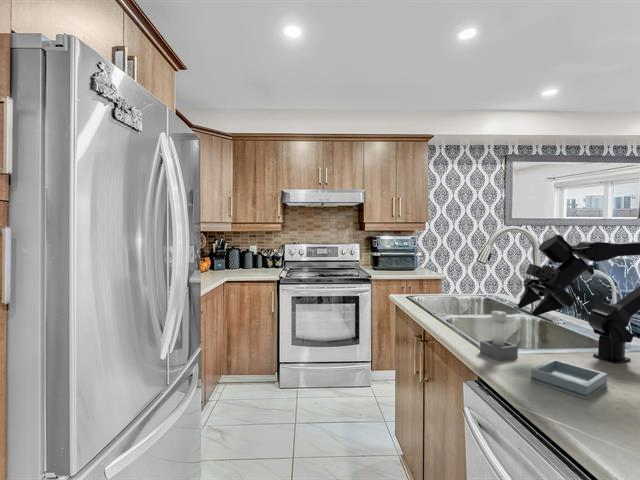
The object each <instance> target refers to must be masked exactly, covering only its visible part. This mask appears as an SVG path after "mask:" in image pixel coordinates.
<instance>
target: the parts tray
mask: <svg viewBox="0 0 640 480" xmlns="http://www.w3.org/2000/svg"><path fill="white" fill-rule="evenodd" d="M530 381H531V382H533V383H536V384H540V385H542V386H545V387H548V388H552V389H554V390H556V391H560V392H563V393H567V394H570V395H572V396H575V397H578V398H581V399H584V400H589V399H590V398H591V397H593V396H594V395H596V394H597V393H599V392H600V391H602V390H603V389H604V388H605V387H607V386H608V373H606V372H603V371H598V370H596V369H592V368H588V367H585V366H581V365H577V364H574V363H570V362H565V361H562V360H558V359H555V358H552V359H550V360H547V361H545V362H543V363H541V364H539V365H537V366H535V367H533V368H531V369H530Z"/></svg>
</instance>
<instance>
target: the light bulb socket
mask: <svg viewBox="0 0 640 480" xmlns="http://www.w3.org/2000/svg"><path fill="white" fill-rule="evenodd" d="M518 347H519V346H518V345H517V344H513V343H511V342H509V341H506V340H505V347H496V346H494V345H492V339H486V340H481V341H480V343H479V353H480V354H483V355H485V356H487V357H489V358H490V359H491V358H492V359H494V360H496V361H504V360H505V361H506V360H510V359H511V360H512V359H517V358H518V357H519V355H518V353H519V350H518Z"/></svg>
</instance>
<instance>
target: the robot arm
mask: <svg viewBox="0 0 640 480" xmlns="http://www.w3.org/2000/svg"><path fill="white" fill-rule="evenodd" d="M538 250H539V251H540V252H541V253H542V254H543V255H544V256H545V257H546V258H547V259H548V260H549V261H551V262H552V263H553V264H559V265H558V266H557V267H556V268H555V269H554V268H552V267H551V266H550V265H546V264H543V265H541V266H540V265H536V264H532V263H530V264H529V265H528V267H527V269H526V271H525V274H527V275H530V276H533V277H535V278H533V277H526V278H525V279H524V280H523V282H522V283H523V287H524V292H523V295H522V296H521V298H520V300H519V302H518V303H517V308H518V309H523V308H525V307H527V306H529V305H531V304H533V303H535V302H537V301H540V300H541V299H542V297H543V299H542V300H541V301H540V302H539V303H538V305H536V307H535V308H534V309H533V311H531V314H532V316H535V317H536V316H539V315H542V314H543V315H544V314H546V313H549V312H554V311H557V310H561V309H565V308H568V309H570V308H571V307H572V306H573V305H574V304H575V298H574V297H573V296H572V294H570V293H569V292H568V291H567V290H566V289H567V288H568V287H570V288H573V287H574V286H575V283H574V282H576V280H578V279H579V277H580V276H582V275H583V274H587V275H593V276H594V275H595V271H594V266H595V265H593V264H588V263H587V262H586V261H589V262H596V263H599V262H600V263H601V262H603V261H608V260H609V261H610V260H612V259H614V258H617V257H629V256H640V241H629V242H628V241H626V242H604V241H603V242H602V241H593V240H591V241H589V240H582V241H579V242H578V243H577V244H576V245H571V244H569V243H568V242H567V241H566V239H565V238H564V236H562V235H561V234H555V235H554V236H553V237H550V238H548V239H546V240H544V241H542V242H541V243H540V245H539V247H538ZM590 311H591V312H590V314H588V316H587V317H588V319H587V321H588V325H589V327H591V328H592V330H593V333H594V334H596V335H599V337H598V343H597V344H598V346H597V347H598V349H597V353H593V354H592V356H593V357H596V358H599V359H602V360H606V361H608V362H610V363H611V362H612V363H614V364H620V363H624V362H630V361H631V360H632V359H631V358H630V357H628V356H627V357H626V344H627V343H632V341H633V339H634V337H635V335H634V334H633V333H631V331H630V330H629V329H627V327H628V326H629V324H630V322H631V321H630V320H631V318H632V317H633V316H634V315H635V314H637V313H638V312H639V311H640V285H639V286H637V287H636V288H635V289H634V290H632V291H631V292H629V293H628V294H627V295H625V296H624V297H622V298H621V299H620V300H618V301H617V302H615V303H613V304H608V303H606V302H601V303H600V304H599V305H598V306H597V307H595V308H594V309H591V310H590Z"/></svg>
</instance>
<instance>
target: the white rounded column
mask: <svg viewBox="0 0 640 480" xmlns="http://www.w3.org/2000/svg"><path fill="white" fill-rule="evenodd" d="M491 321H492V333H491V334H492V335H491V336H492V337H491V340H492V345H494V346H496V347H505V341H506V323H507V312H505V311H502V310H501V311H500V310H492V311H491Z"/></svg>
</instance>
